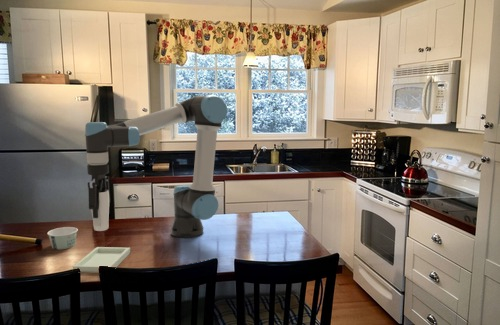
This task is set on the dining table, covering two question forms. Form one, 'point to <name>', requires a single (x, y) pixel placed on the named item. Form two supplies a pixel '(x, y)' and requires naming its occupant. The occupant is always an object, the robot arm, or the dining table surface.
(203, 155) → the robot arm
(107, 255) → the tray
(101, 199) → the drinking glass
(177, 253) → the dining table surface
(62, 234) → the food container
